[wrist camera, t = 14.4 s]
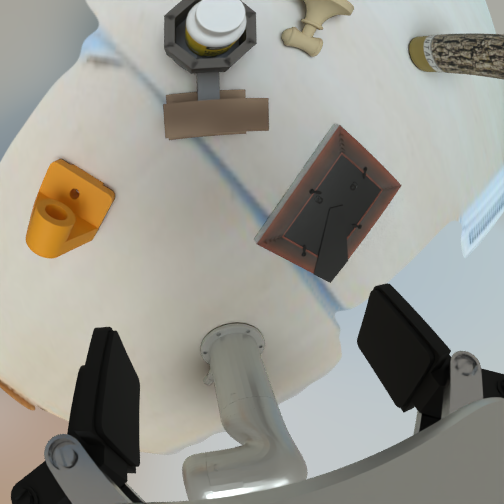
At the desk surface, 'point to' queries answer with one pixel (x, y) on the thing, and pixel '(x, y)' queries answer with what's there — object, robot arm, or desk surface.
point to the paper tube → (460, 54)
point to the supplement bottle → (214, 26)
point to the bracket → (66, 210)
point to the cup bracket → (209, 85)
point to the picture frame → (329, 206)
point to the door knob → (315, 24)
